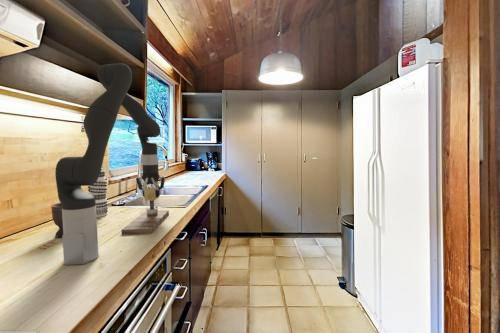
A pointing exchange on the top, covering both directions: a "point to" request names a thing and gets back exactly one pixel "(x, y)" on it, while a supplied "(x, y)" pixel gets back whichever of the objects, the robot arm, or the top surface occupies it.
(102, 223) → the top surface
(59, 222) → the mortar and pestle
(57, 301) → the top surface
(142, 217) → the hinge base
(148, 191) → the tan block
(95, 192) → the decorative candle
